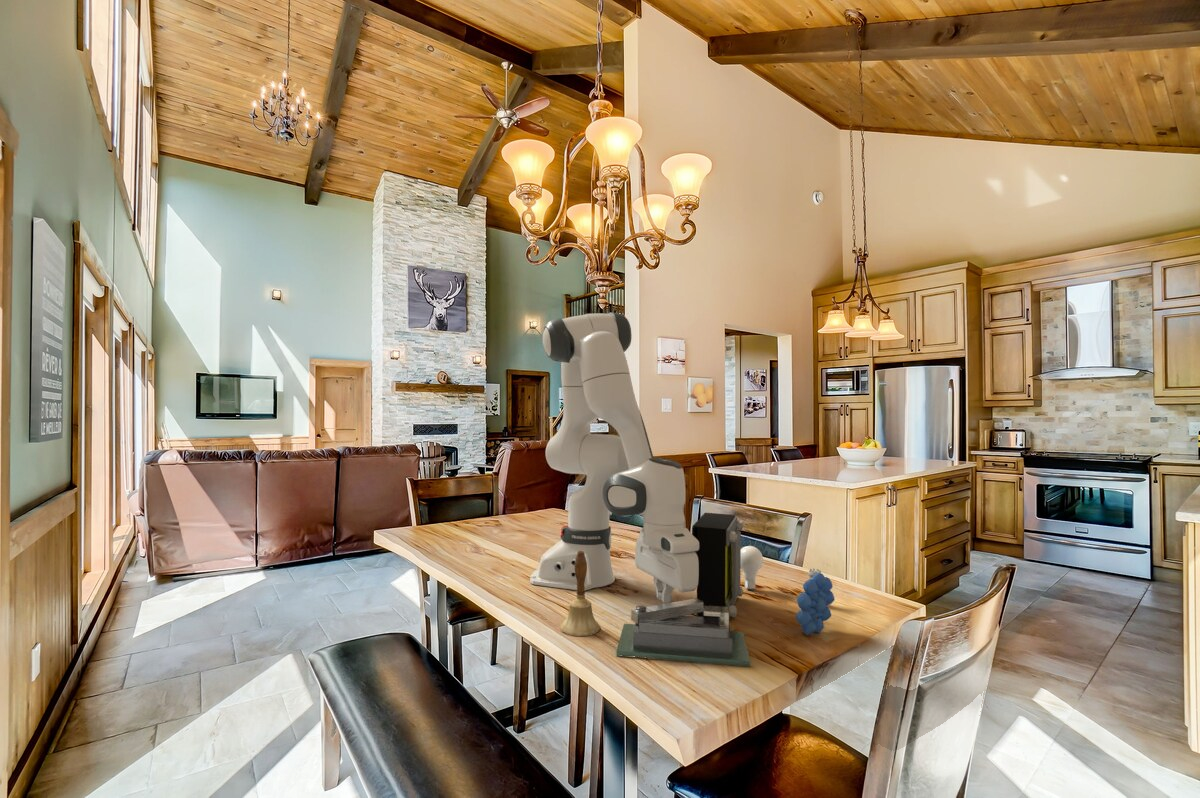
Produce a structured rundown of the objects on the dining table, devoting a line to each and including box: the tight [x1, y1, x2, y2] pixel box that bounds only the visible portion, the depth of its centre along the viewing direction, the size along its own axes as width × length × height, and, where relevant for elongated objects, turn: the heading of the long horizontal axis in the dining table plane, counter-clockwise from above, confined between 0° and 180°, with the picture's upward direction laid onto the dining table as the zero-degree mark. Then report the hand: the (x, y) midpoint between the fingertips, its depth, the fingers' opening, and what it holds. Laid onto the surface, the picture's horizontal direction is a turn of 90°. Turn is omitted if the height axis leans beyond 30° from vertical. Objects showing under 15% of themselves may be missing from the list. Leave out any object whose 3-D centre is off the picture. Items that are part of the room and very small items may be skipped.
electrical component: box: [691, 512, 744, 618], centre depth 127 cm, size 18×10×20 cm, turn 160°
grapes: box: [795, 573, 836, 636], centre depth 113 cm, size 12×7×12 cm, turn 127°
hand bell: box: [559, 551, 601, 637], centre depth 113 cm, size 8×8×16 cm
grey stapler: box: [615, 605, 751, 668], centre depth 105 cm, size 24×13×8 cm, turn 81°
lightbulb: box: [741, 545, 764, 591], centre depth 139 cm, size 6×6×11 cm
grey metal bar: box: [630, 597, 703, 624], centre depth 109 cm, size 16×2×3 cm, turn 116°
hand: (663, 600), depth 115 cm, fingers closed
